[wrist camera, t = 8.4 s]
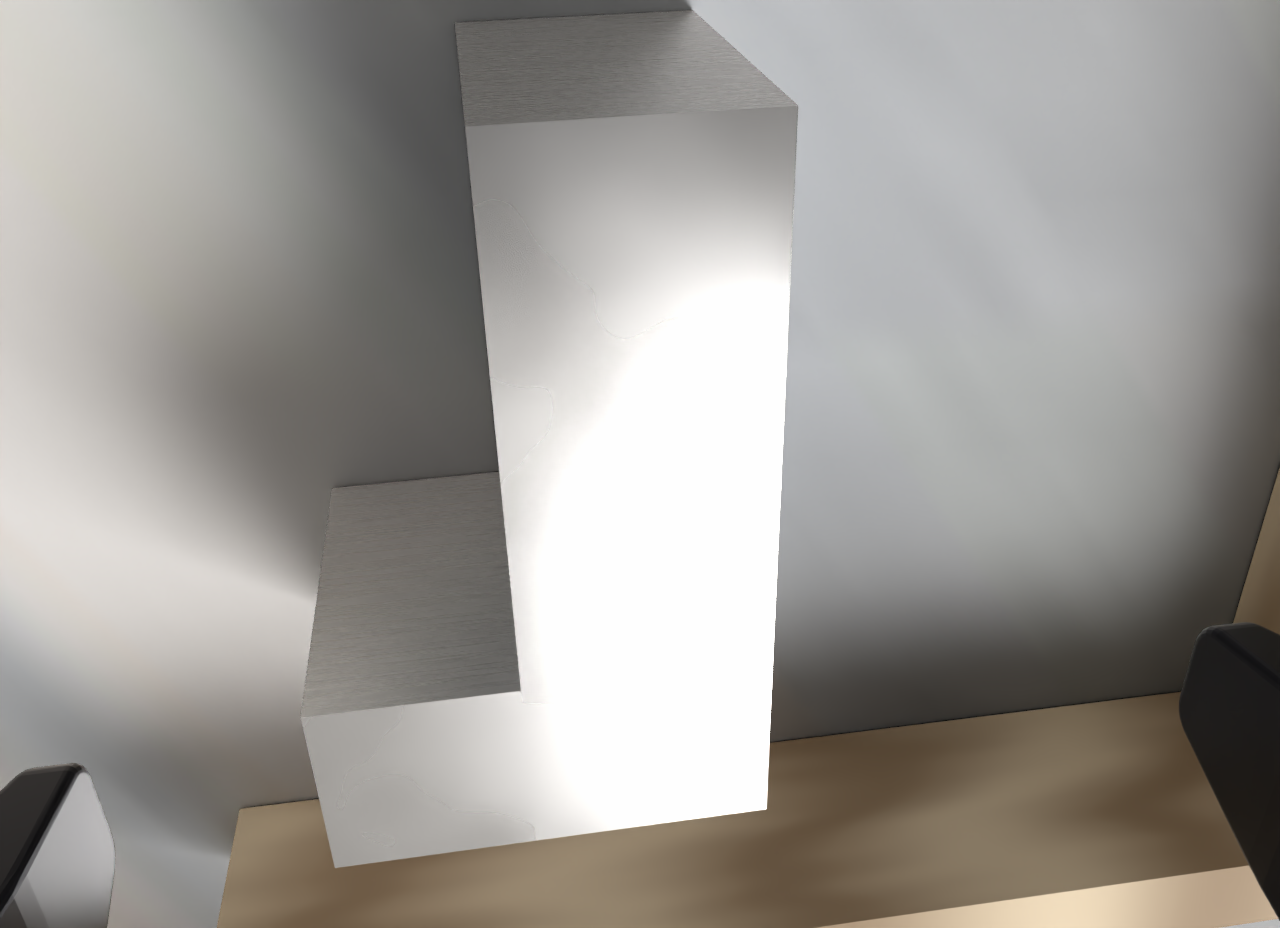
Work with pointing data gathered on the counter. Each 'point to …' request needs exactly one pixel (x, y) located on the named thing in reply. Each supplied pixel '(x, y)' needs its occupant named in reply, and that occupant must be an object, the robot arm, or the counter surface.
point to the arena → (841, 837)
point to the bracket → (581, 468)
